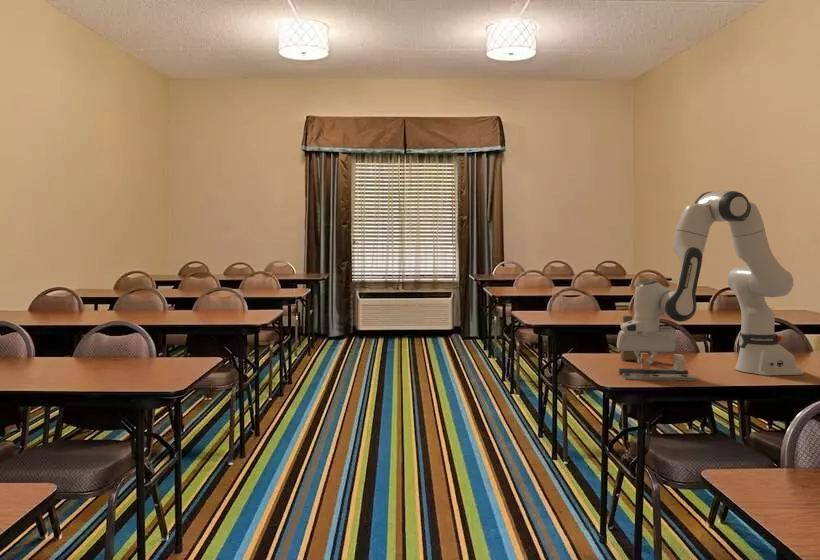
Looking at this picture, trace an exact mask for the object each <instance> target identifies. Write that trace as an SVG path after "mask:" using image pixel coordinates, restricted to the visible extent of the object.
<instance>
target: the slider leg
mask: <svg viewBox="0 0 820 560" xmlns="http://www.w3.org/2000/svg"><path fill="white" fill-rule="evenodd" d="M641 358H642V359H643V361H642V362H643V363H640V369H643V370H650V369H651V364H650V363H652V361H651V360H650V358H651V353H650V354H648V353H641Z"/></svg>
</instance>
